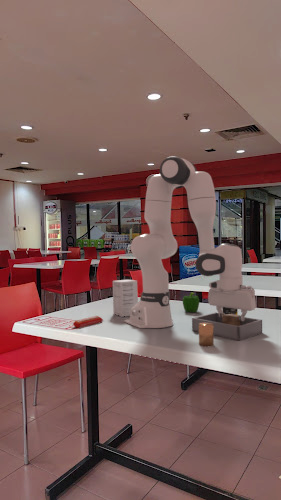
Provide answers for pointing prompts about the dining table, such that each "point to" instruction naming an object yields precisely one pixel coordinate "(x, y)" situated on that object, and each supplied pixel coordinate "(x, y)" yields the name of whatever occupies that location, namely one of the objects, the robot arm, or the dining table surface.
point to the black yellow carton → (229, 310)
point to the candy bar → (87, 321)
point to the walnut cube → (231, 319)
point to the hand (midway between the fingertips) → (231, 319)
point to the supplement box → (124, 296)
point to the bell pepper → (191, 303)
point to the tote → (229, 327)
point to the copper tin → (206, 334)
